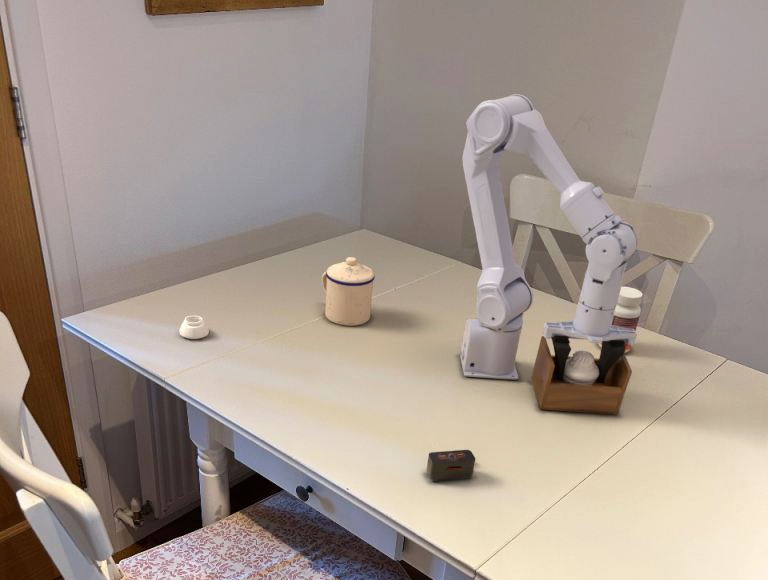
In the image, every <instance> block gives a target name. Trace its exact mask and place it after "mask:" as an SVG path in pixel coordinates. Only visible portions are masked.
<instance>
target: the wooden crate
mask: <svg viewBox="0 0 768 580" xmlns="http://www.w3.org/2000/svg"><path fill="white" fill-rule="evenodd" d="M571 357H572V356H570V355H569V356H568V358H567V360H568V359H570V358H571ZM598 361H599V357H598V358H596V357H594V362H595V364H596V366H597V364H598ZM555 369H556V362H555V354H554V355H553V354H552V353H551V349H550V347H549V344H548V341H547V339H545V337H544V335H542V336H541V338H540V341H539V346H538V350H537V353H536V358H535V362H534V366H533V370H532V373H531V383H532V386H533V390H534V392H535V397H536V400H537V401H536V402H537V404H538V408H539V410H543V411H556V412H557V411H558V412H559V411H560V412H572V413H573V412H575V413H587V414H603V415H618V414H619V412H620V409H621V406H622V403H623V400H624V397H625V395H626V391H627V388H628V385H629V382H630V380H631V376H632V374H633V370H632V368H631V365H630V363H629V361H628V359H627V357H626V355H625V354H624V355H623V356H621V357H620V358H619V359H618V360H617V361H616V362H615V363H614V364H613V365H612V367H611V368H610V369H609V371H608V372H607V374H606V375H605V377H604V379H603V381H602V383H597V381H596V380H595V382H594V383H593V384H592V385H579V384H565V383H564V380H563V378H562V380H557V378H556V376H555Z"/></svg>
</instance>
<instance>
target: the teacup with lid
mask: <svg viewBox="0 0 768 580" xmlns="http://www.w3.org/2000/svg"><path fill="white" fill-rule="evenodd" d="M357 261H358V260H357V258H356V257H353V256H350V257H349V256H348V257H346V259H345V261H342V262H339V263H335V264H332V265H330V266H329V267H327V270H326V271H324V272H323V273H322V274H321V275H322V276H321V286H322V289H323V291H324V293H325V312H324V314H325V317H326V318H327V320H328V321H330V322H332V323H335V324H336V325H340V326H348V327H350V326H351V327H353V326H354V327H355V326H360V325H364V324H366V323H367V322H368V321H369V320H370V319H371V310H372V299H373V288H374V287H373V285H374V280H375V276H376V275H375V273H374V271H373V270H372V269H371V268H370V267H369V266H367V265H364V264H361V263H359V262H357Z"/></svg>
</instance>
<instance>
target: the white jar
mask: <svg viewBox="0 0 768 580" xmlns="http://www.w3.org/2000/svg"><path fill="white" fill-rule="evenodd" d="M209 333H210V332H209V328H208V326H207V324H206V323H205V321H204V319H203V318H202V316H200V315H187V316H186V317H185V318H184V319H183V321H182V323H181V326H180V327H179V335H180V336H182V337H183V338H186V339H189V340H190V339H191V340H197V339H203V338H205V337H208V334H209Z"/></svg>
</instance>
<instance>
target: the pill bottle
mask: <svg viewBox="0 0 768 580" xmlns="http://www.w3.org/2000/svg"><path fill="white" fill-rule="evenodd" d="M642 299H643V293H642V291H641V290H638V289H637V288H634V287H630V286H622V287H621V290H620V294H619V298H618V301H617V305H616V308H615V312H614V315H613V319H612V323H611V325H613V326H618V327H623V328H629V329H634V330H635V332H636V330H637V328H638V324H639V320H640V317H641V313H642V309H641V306H640V305H641V303H642ZM597 344H598V346H599V347H600V348H601V347H602V343H600V344H599V343H597ZM624 346H625V348H626V350H625V353H624V354H626V353H628V352H630V351H631V348H632V345H628V344H627V343H624Z"/></svg>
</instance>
